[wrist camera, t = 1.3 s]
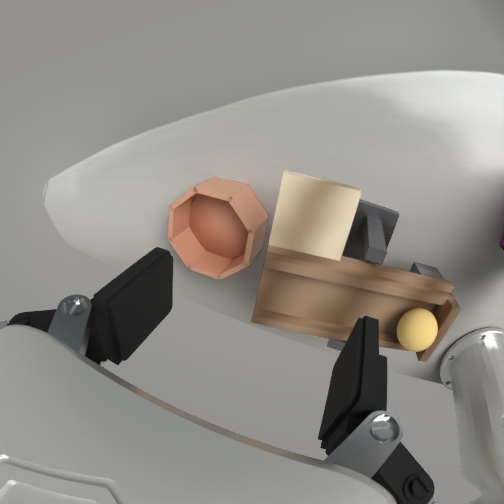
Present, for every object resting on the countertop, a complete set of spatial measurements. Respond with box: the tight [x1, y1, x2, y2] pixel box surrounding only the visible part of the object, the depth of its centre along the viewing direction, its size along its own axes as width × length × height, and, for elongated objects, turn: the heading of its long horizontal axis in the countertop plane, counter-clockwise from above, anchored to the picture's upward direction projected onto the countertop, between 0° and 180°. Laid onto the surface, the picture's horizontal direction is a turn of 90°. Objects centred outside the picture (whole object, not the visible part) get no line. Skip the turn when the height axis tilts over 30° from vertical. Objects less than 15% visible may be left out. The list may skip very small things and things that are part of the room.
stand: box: [327, 199, 399, 351], centre depth 30 cm, size 5×14×9 cm, turn 169°
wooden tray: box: [251, 170, 460, 362], centre depth 25 cm, size 18×14×7 cm
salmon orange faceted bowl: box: [168, 177, 269, 280], centre depth 35 cm, size 10×10×5 cm
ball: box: [397, 308, 438, 352], centre depth 24 cm, size 4×4×4 cm
